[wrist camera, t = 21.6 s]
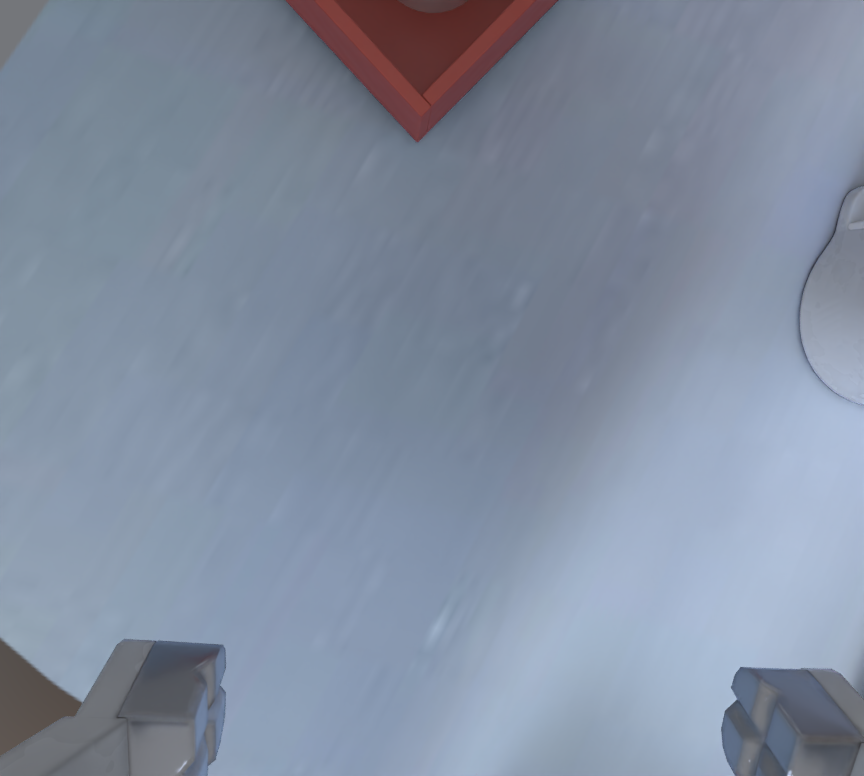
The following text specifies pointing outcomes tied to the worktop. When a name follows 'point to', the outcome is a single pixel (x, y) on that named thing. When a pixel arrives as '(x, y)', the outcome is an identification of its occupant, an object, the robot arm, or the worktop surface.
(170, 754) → the robot arm
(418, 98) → the toy cart
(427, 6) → the cylindrical container
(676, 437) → the worktop surface
